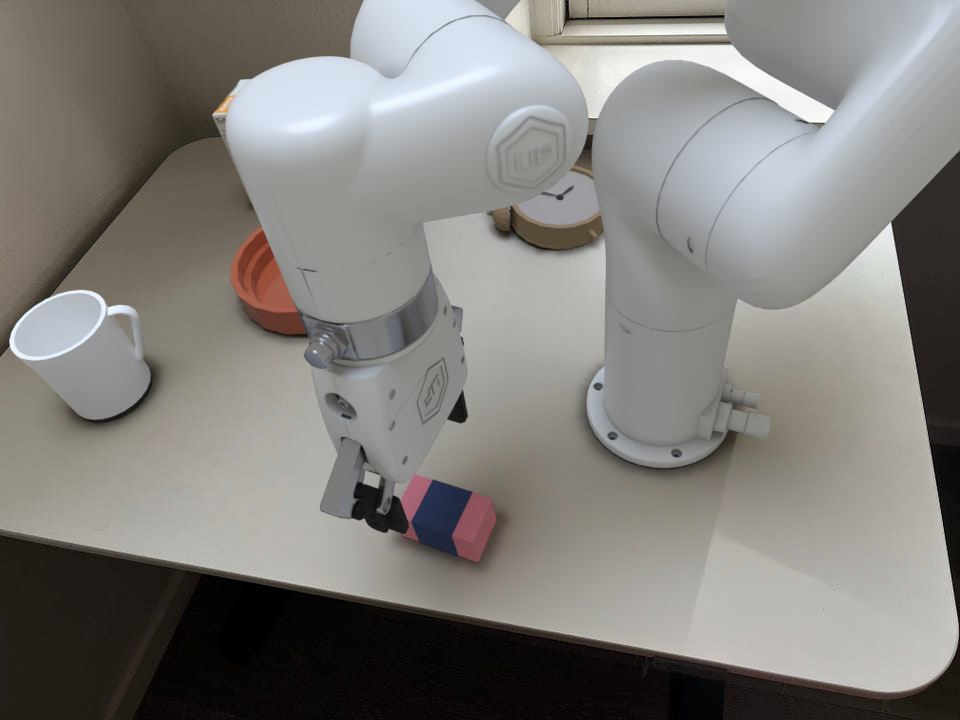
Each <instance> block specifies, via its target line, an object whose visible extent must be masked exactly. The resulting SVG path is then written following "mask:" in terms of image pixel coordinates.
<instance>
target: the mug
mask: <svg viewBox="0 0 960 720" xmlns="http://www.w3.org/2000/svg"><path fill="white" fill-rule="evenodd" d="M117 315H124V316H127V317H129V320H130V325H131V330H132V334H133V339H134V344H133V343H132V341H131V339H129V337H128V336H127V334H126V333H125V332H124V331H125V330H123V329H122V327H121V325H120V324H119V323H118V321H117V319H116V318H115V316H117ZM8 342H9V348H10V350H11V352H12V353H13V355H15V356H16V357H17V358H18V360H20V361H21V362H23V363H24V364H25V365H26V366H27V367H29V368H30V369H31V370H32V371H33V372H34V373H35V374H37V375H38V376H39V377H40V378H41V379H42V380H43V381H44V382H45V383H46V384H47V385H48V386H49V387H50V388H51V390H53V391H54V392H55V394H57V395H58V396H59V397H60V398H61V399H62V400H63V401H64V402H65V403H66V405H68V406H69V407H70V408H71V409H72V410H73V411H74V412H75V414H77V415H78V416H79V417H80V418H81V419H83V420H86V421H91V422H95V423H98V422H100V423H101V422H109V421H112V420H116V419H118V418H121V417H123V416H125V415H127V414H129V413H130V412H131V411H133V410H134V409H136V408H137V407H138V406H139V405H140V404H141V403H142V402H143V401H144V400H145V398H147V395H148V394H149V393H150V389H151V387H152V381H153V374H152V371H151V368H150V367H149V366H148V364H147V363H146V361H145V360H144V358H145V351H146V347H145V341H144V335H143V328H142V323H141V318H140V315H139V313H138V312H137V310H136V309H135V308H134V307H132V306H131V305H126V304H125V305H124V304H117V305H111V306H109V305H108V304H107V302H106V301H105V299H104V298H103V297H102V296H101V295H100V294H99V293H96V292H94V291H92V290H86V289H76V290H68V291H64V292H60V293H57V294H54V295H52V296H50V297H48V298H45V299H44V300H42V301H40V302H39V303H37V304H36V305H34V306H33V307H32V308H30V309H29V310H28V311H27V312H25V313H24V315H22V317H21V318H20V319H19V320H18V321H17V322H16V324H15V325H14V327H13V329H12V331H11V333H10V337H9V340H8Z"/></svg>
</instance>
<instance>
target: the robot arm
mask: <svg viewBox="0 0 960 720" xmlns="http://www.w3.org/2000/svg"><path fill="white" fill-rule="evenodd" d="M521 1H522V0H363V1H362V3H361V6H360V8H359V10H358V12H357V15H356V17H355V21H354V24H353V27H352V32H351V37H350V46H349V47H350V48H349V51H350V52H349V57H346V56H345V57H343V56H335V55H333V56H332V55H325V56H312V57H311V56H310V57H305V58H299V59H294V60H291V61H288V62H284V63H282V64H279V65H276V66H274V67H271V68H269V69H267V70H265V71H262V72H261V73H259V74H257V75H255V76H254V77H253V78H251V79H252V80H250V81H249V82H248V83H246V84H245V85H244V86H243V87H242V88H241V89H240V91H239V92H238V93H237V94H236V96H235V97H234V98H233V99H232V101H231V104H230V106H229V108H228V112H227V116H226V124H225V130H226V137H227V142H228V145H229V148H230V151H231V154H232V157H233V160H234V162H235V164H236V167H237V169H238V171H239V174H240V176H241V179H242V181H243V183H244V186H245V188H246V190H245V192H246V191H247V193H248V195H249V197H248V199H249V198H250V199H249V201H250V200H251V201H250V203H251V202H252V204H251V205H252V208H253V210H254V212H255V214H256V216H257V219H258V221H259V224H260V227H261V226H262V229H263V231H264V233H265V236H266V238H267V240H268V243H269V245H270V248H271V250H272V252H273V255H274V257H275V260H276V262H277V264H278V267H279V269H280V272H281V274H282V276H283V279H284V281H285V284H286V286H287V288H288V291H289V293H290V296H291V298H292V300H293V303H294V305H295V307H296V310H297V312H298V314H299V317H300V319H301V322H302V324H303V326H304V329H305V331H306V334H305V335H306V336H307V338H308V340H309V341H308V347H307V348H306V349H305V350H304V351H303V358H304V359H305V361H306V362H307V363H308V364H309V365H310V372H311V376H312V382H313V386H314V391H315V392H314V393H315V396H316V400H317V403H318V407H319V410H320V413H321V418H322V420H323V423H324V425H325V428H326V432H327V433H328V436H329V439H330V441H331V444H332V445H333V448H334V450H335V452H336V453H337V455H336V458H335V461H334V464H333V467H332V469H331V473H330V475H329V477H328V481H327V483H326V487H325V490H324V492H323V495H322V498H321V501H320V505H319V510H320V512H321V513H325V514H327V515H329V516H332V517H335V518H338V519H343V520H345V519H346V520H356V521H358V522H360V521H362V520H364V521H365V523H366V525H367V526H369V528H371V529H373V530H374V531H377V532H380V533H382V534H387V533H388V532H389V531H390V530H391V531H394V532H396V533H399V534H400V535H401V534H406V532H407V530H408V528H409V525H408V524H409V522H408V520H407V517H406V514H405V512H404V509H403V506H402V503H401V501H400V500H401V498H399V497H398V496H397V495H394V491H395V485H396V484H399V485H400V484H401V485H402V484H404V483H406V482H408V481H409V480H411V479H412V477H413V476H414V474H416V473H417V472H418V470H419V469H420V467H421V466H422V465H423V463H424V461H425V459H426V458H427V456H428V454H429V453H430V450H431V449H432V447H433V445H434V443H435V442H436V440H437V438H438V437H439V434H440V433H441V431H442V429H443V427H444V426H445V424H446V422H447V421H450V422H454V423H456V424H457V423H458V424H461V425H462V424H463V423H466V421H467V420H468V418H469V413H468V408H467V402H466V396H465V393H464V387H465V385H466V382H467V379H468V376H469V375H468V374H469V373H468V372H469V371H468V363H467V362H468V361H467V358H466V353H465V348H464V346H465V342H464V337H463V336H462V335H461V333H462V327H463V318H464V309H463V307H460V306H456V305H452V304H451V301H450V298H449V296H448V294H447V292H446V291H445V289H444V287H443V285H442V283H441V281H440V280H439V278H438V277H437V275H436V274H435V273H434V271H433V265H432V261H431V257H430V251H429V247H428V244H427V243H428V241H427V237H426V232H425V227H424V224H425V223H429V222H436V221H441V220H447V219H452V218H458V217H462V216H469V215H475V214H476V215H477V214H482V213H487V211H492V210H496V209H501V208H505V207H509V208H510V206H513V205H516V204H518V203H521V202H524V201H527V200H530V199H532V198H534V197H536V196H538V195H539V194H541V193H543V192H545V191H546V190H548V189H550V188H551V187H553V186H554V185H555V184H556V183H558V182H559V181H560V180H561V179H562V178H563V177H564V176H565V175H566V174H567V173H568V172H569V171H570V169H571V168H572V167H573V166H575V164H576V163H577V161H578V160H579V158H580V156H581V154H582V152H583V149H584V147H585V144H586V141H587V137H588V133H589V122H590V121H589V110H588V104H587V100H586V97H585V95H584V92H583V90H582V87H581V85H580V84H579V82H578V80H577V79H576V77H575V76H574V74H572V72H571V71H570V70H569V68H568V67H567V66H566V65H565V64H564V63H563V62H561V61H560V60H559V59H558V58H557V57H556V56H554V55H553V54H552V53H551V52H550V51H549V50H547V49H545V48H544V47H542V46H541V45H540V44H538V43H537V42H535V41H534V40H532V39H530V38H529V37H528V36H527V35H526V34H524V33H522V32H521V31H519V30H518V29H516V28H515V27H513V26H512V25H511V24H510V23H508V22H507V21H506V19H507V17H508V16H509V15H510V14H511V13H512V11H513V10H514V9H515V7H516V6H518V4H520V2H521ZM723 19H724V29H725V32H726V35H727V37H728V40H729V42H730V45H732V46H733V48H734V49H735V50H736V51H737V52H738V53H739V54H740V56H741V57H742V58H744V59H745V60H746V61H748V62H749V63H750V64H752V65H753V66H754V67H755V68H757V69H759V70H760V71H762V72H764V73H765V74H766V75H768V76H770V77H772V78H773V79H775V80H778V82H781V83H783V84H784V85H785V86H788V87H789V88H791V89H794V90H795V91H797V92H799V93H801V94H803V95H804V96H806V97H808V98H810V99H812V100H814V101H816V102H819V103H820V104H821V105H823V106H826V107H827V108H828V109H831V110H833V113H831V115H830V116H829V118H828V119H827V120H826V121H825V122H824V124H823V125H822V126H821V127H818V126H817V125H815V124H813V123H811V122H809V121H808V120H806V119H804V118H803V117H801V116H799V115H797V114H796V113H794V112H792V111H790V110H788V109H786V108H784V107H782V106H781V105H780V104H779V103H777V102H776V101H775V100H773V99H771V98H770V97H767V96H766V95H764V94H762V93H760V92H758V91H756V90H755V89H753V88H751V87H749V86H747V85H746V84H744V83H742V82H740V81H739V80H737V79H735V78H733V77H732V76H729V75H728V74H726V73H724V72H721V71H720V70H717V69H714V68H713V67H711V66H707V65H704V64H701V63H697V62H694V61H692V60H691V61H690V60H683V59H665V60H659V61H655V62H652V63H649V64H646V65H643V66H641V67H639V68H638V69H635V70H634V71H633V72H631V73H630V74H629V75H626V77H624V79H622V80H621V81H620V82H619V83H618V84H617V85H616V87H615V88H614V89H613V90H612V92H610V93H609V95H608V97H607V99H606V100H605V102H604V104H603V106H602V107H601V110H600V112H599V115H598V117H597V120H596V123H595V126H594V131H593V136H592V143H591V144H592V145H591V170H592V171H591V172H593V179H594V185H595V190H596V195H597V200H598V204H599V209H600V213H601V218H602V223H603V237H604V249H605V283H604V285H605V286H604V294H605V295H604V359H603V361H604V362H603V363H604V364H603V366H602V367H600V369H599V370H598V371H597V372H596V373H595V374H594V376H593V378H592V380H591V382H590V384H589V387H588V390H587V392H586V393H587V394H586V415H587V419H588V423H589V426H590V427H591V430H592V432H593V433H594V435H595V437H596V438H597V439H598V441H600V443H602V445H603V446H604V447H605V448H607V449H608V450H609V451H610V452H612V453H613V454H614V455H616V456H618V457H620V458H622V459H623V460H625V461H628V462H630V463H632V464H636V465H639V466H644V467H649V468H655V469H657V468H658V469H670V468H679V467H685V466H688V465H692V464H694V463H696V462H699V461H701V460H702V459H704V458H706V457H708V456H709V455H711V454H712V453H713V452H714V451H715V450H717V449H718V448H719V447H720V445H721V444H722V443H723V441H724V440H725V438H726V437H727V434H728V432H729V431H734V432H738V433H740V434H743V435H744V436H749V437H752V438H756V439H761V440H764V441H766V440H767V438H768V435H769V432H770V427H771V422H772V416H768V415H763V414H759V413H755V412H751V411H749V412H746V411H743V410H738V409H734V407H733V404H734V405H735V404H736V405H739V406H741V407H744V408H748V409H753V410H758V407H759V403H760V399H761V395H762V394H761V393H758V392H754V391H751V390H743V389H739V388H735V387H733V384H732V383H727V381H726V380H727V376H728V373H729V368H728V367H727V366H724V364H725V360H726V355H727V350H728V346H729V342H730V341H729V340H730V336H731V332H732V328H733V323H734V317H735V313H736V308H737V303H738V300H740V301H742V302H743V303H746V304H747V305H750V306H752V307H754V308H757V309H761V310H766V311H778V310H785V309H790V308H792V307H795V306H797V305H799V304H802V303H804V302H805V301H808V299H810V298H812V297H813V296H815V295H817V294H818V293H819V292H821V291H822V290H823V289H825V287H827V286H828V285H829V284H831V283H832V282H833V281H835V279H837V277H838V276H839V275H841V274H843V272H844V271H845V270H846V269H847V268H848V267H849V266H850V265H851V264H852V263H853V262H854V261H855V260H856V259H857V258H858V257H859V256H860V255H861V254H862V253H863V252H864V251H865V250H866V249H867V248H868V247H869V246H870V245H871V244H872V243H873V241H874V240H875V239H876V238H877V237H878V236H880V234H881V233H882V232H883V231H884V230H885V229H886V228H887V227H888V225H890V224H891V222H893V221H894V219H896V217H897V216H898V215H900V213H902V212H903V210H904V209H905V208H906V207H907V206H908V205H909V204H910V203H911V202H912V201H913V200H914V199H915V198H916V197H917V196H918V195H919V193H920V192H922V190H923V189H924V188H925V187H926V186H927V185H928V184H929V183H930V182H931V181H932V180H933V179H934V178H935V177H936V176H937V174H939V172H941V170H942V169H944V167H945V166H946V165H947V164H948V163H949V162H950V161H951V160H952V159H953V158H954V157H955V156H956V154H958V153H959V152H960V0H726V3H725V6H724V18H723ZM241 179H240V180H241ZM242 181H241V182H242ZM244 186H243V187H244ZM245 188H244V189H245ZM247 193H246V194H247ZM248 195H247V196H248ZM366 472H369V473H372V474H375V475H378V476H379V482H378V487H375V486H372V485H370V484H367V483H364V481H365V475H366Z"/></svg>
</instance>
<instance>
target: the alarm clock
mask: <svg viewBox="0 0 960 720" xmlns="http://www.w3.org/2000/svg"><path fill="white" fill-rule="evenodd" d="M486 215H487V216H490V218H492V220H493V223H494V225H495V227H496V228H497V229H499V230H501V231H502V232H510V230H511V226H512V228H513V230H514V231H515V232H516V234H517V236H519V237H521V238H522V239H523V240H525V241H526V242H528V243H530V244H533V245H535V246H537V247H540V248H546V249H553V250H563V249H574V248H577V247H580V246H583V245H586V244H588V243H590V242H592V241H593V240H597V239H598V238H599V236H600V235H601V234H602V232H604V229H603V223H602V218H601V213H600V209H599V204H598V200H597V195H596V190H595V185H594V179H593V171H591V170H590V169H587V168H584V167H581V166H578V165H574V166H573V167H572V168H571V169H570V171H569V172H568V173H567V174H566V175H565V176H564V177H563V178H562V179H561V180H560V181H559V182H558V183H556V184H555V185H554V186H553V187H551V188H550V189H548V190H546V191H545V192H543V193H541V194H539V195H538V196H536V197H534V198H532V199H530V200H527V201H524V202H521V203H518V204H516V205H513V206H510V207H505V208H501V209H496V210H492V211H487V212H486Z"/></svg>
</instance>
